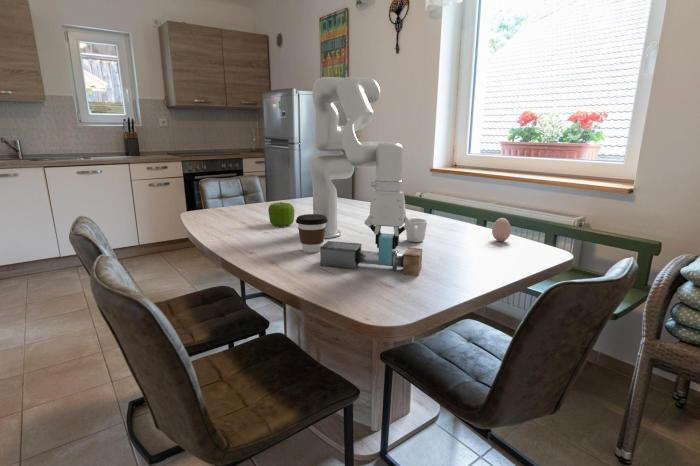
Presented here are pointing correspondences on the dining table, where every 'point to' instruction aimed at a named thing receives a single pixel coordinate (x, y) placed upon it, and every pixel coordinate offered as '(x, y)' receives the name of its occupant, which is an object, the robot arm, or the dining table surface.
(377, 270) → the dining table surface
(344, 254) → the sleeve
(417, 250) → the cardboard box
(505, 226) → the egg
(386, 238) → the plug
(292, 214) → the apple
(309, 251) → the coffee cup
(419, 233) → the cup
